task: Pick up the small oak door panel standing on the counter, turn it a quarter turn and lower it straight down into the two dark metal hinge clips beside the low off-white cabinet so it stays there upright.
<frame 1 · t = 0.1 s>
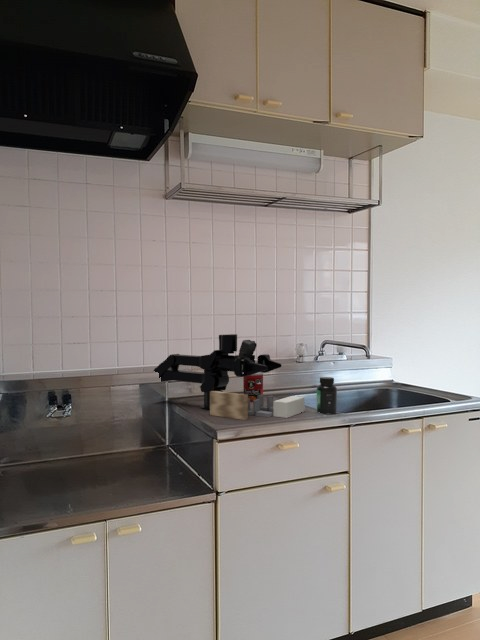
hand: (274, 366, 166), 17 cm above the worktop, tool horizontal, fingers open, 9 cm apart
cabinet: (258, 411, 173), on the worktop
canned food: (253, 400, 197), on the worktop
supplement bottle: (326, 413, 173), on the worktop
door panel: (228, 417, 165), on the worktop
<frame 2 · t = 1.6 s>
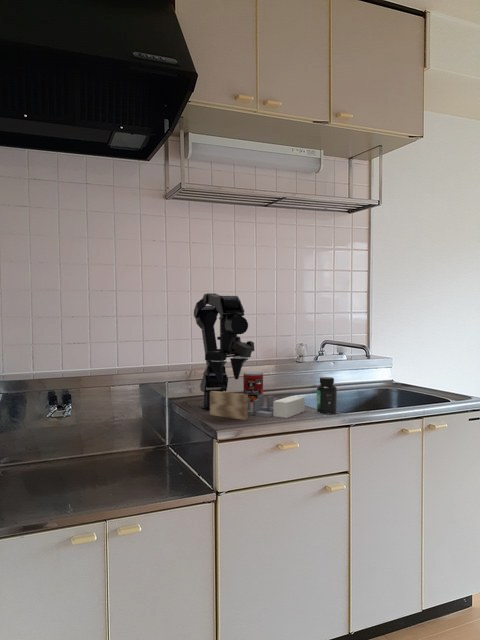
hand: (228, 380, 165), 12 cm above the worktop, tool pointing down, fingers open, 9 cm apart
nothing on the worktop moved.
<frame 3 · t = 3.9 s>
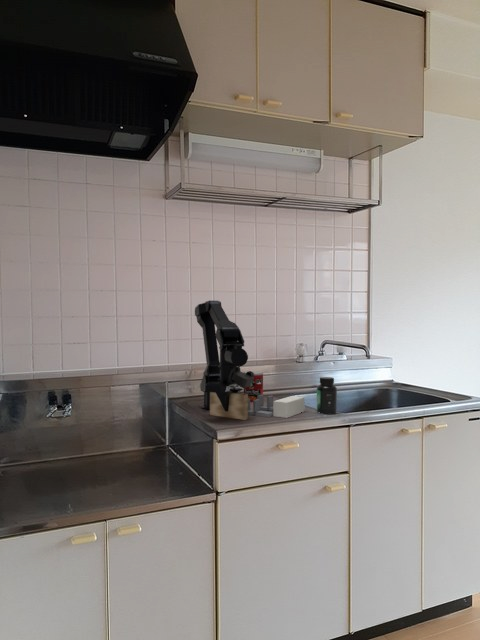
hand: (228, 410, 165), 2 cm above the worktop, tool pointing down, fingers closed on door panel, 2 cm apart
door panel: (228, 416, 165), on the worktop, touching gripper
everything else where it was.
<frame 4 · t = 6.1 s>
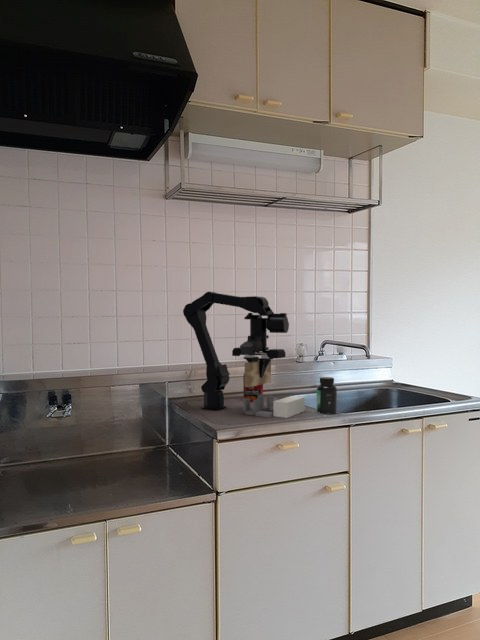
hand: (258, 377, 173), 12 cm above the worktop, tool pointing down, fingers closed on door panel
door panel: (258, 384, 173), point 10 cm above the worktop, touching gripper
everything else where it was.
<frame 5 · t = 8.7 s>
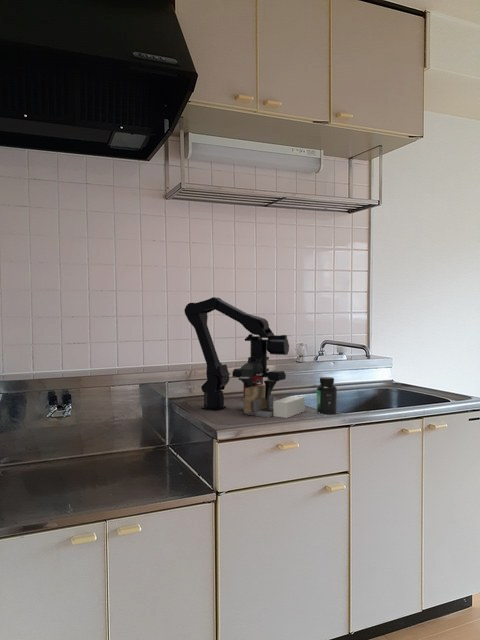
hand: (258, 398, 173), 4 cm above the worktop, tool pointing down, fingers open, 6 cm apart
door panel: (258, 409, 173), point 1 cm above the worktop, touching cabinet
everything else where it was.
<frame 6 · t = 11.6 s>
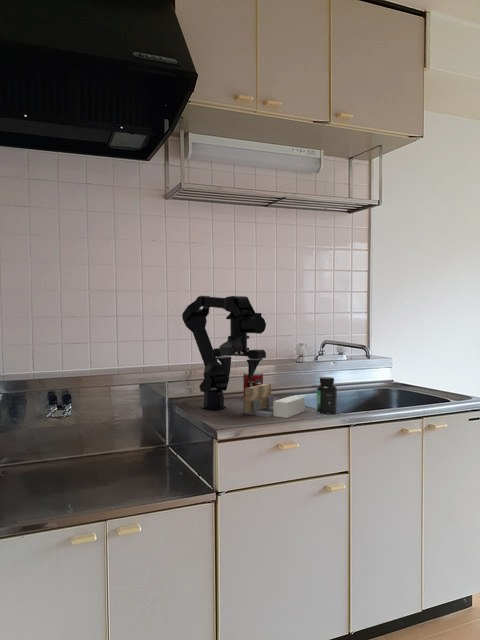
hand: (238, 378, 170), 12 cm above the worktop, tool pointing down, fingers open, 9 cm apart
nothing on the worktop moved.
at the end: door panel 0.1 cm off-centre on the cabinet, point 1.0 cm above the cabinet's base; door panel tilted 0°; the gripper is holding nothing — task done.
